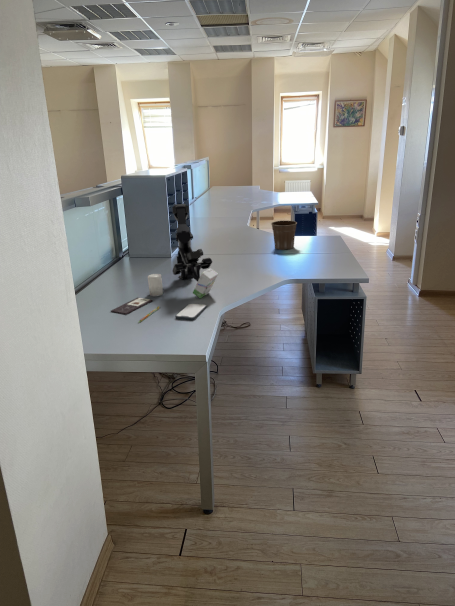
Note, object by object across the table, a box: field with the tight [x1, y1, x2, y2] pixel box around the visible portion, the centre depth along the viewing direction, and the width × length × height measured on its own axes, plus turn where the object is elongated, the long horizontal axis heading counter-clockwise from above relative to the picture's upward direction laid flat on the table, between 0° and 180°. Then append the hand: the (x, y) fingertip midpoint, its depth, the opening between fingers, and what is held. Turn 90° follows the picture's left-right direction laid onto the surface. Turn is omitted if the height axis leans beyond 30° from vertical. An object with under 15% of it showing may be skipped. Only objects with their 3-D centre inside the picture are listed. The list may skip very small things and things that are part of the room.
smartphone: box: [174, 303, 208, 321], centre depth 188 cm, size 9×2×16 cm
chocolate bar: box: [110, 297, 153, 316], centre depth 199 cm, size 9×1×18 cm
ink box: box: [192, 267, 219, 299], centre depth 205 cm, size 8×5×12 cm, turn 154°
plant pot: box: [270, 220, 298, 251], centre depth 284 cm, size 16×16×16 cm
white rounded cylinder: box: [147, 273, 164, 297], centre depth 212 cm, size 6×6×9 cm
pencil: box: [137, 306, 161, 324], centre depth 188 cm, size 1×1×18 cm
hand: (199, 281), depth 206 cm, fingers closed
